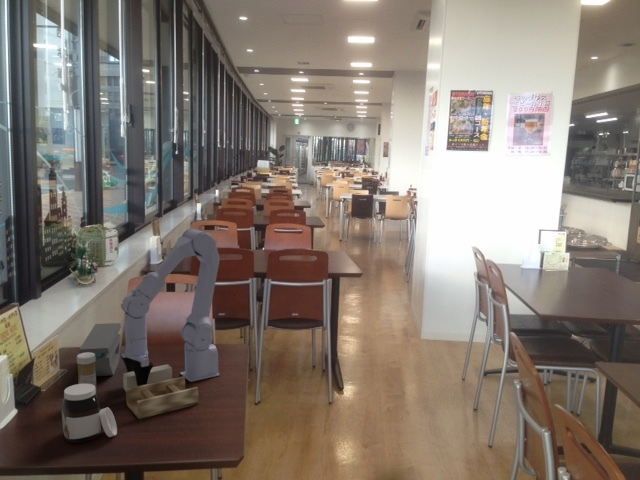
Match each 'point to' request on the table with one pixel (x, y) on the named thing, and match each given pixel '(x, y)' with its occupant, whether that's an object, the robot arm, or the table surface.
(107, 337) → the grey long box
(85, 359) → the sprinkles bottle
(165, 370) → the grayish beige rectangular block
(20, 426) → the table surface
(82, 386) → the spread jar
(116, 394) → the table surface
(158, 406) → the wooden compartment tray
